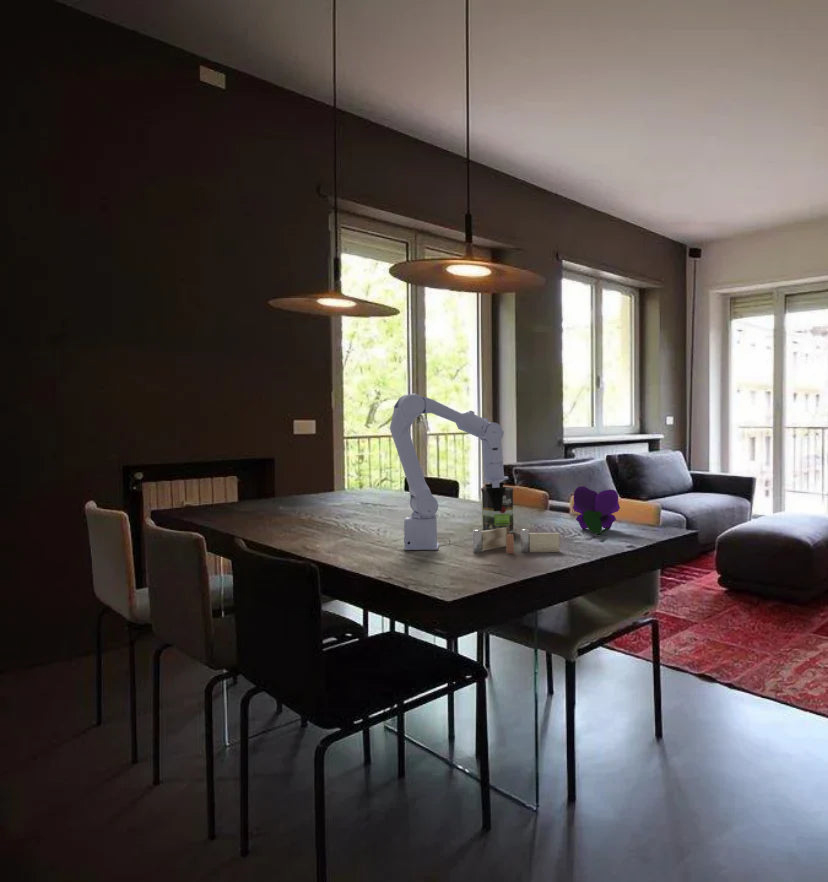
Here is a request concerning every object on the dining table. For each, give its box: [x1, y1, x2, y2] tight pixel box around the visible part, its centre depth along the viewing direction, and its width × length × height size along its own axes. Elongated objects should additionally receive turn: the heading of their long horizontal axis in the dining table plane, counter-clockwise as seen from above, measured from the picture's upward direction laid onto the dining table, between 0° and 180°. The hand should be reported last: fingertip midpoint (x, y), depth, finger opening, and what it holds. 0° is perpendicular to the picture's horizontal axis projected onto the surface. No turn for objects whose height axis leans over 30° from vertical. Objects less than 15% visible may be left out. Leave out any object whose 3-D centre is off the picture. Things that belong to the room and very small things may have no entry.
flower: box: [572, 485, 621, 536], centre depth 199 cm, size 15×15×14 cm
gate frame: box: [472, 528, 560, 554], centre depth 175 cm, size 23×3×6 cm, turn 85°
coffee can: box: [480, 486, 514, 534], centre depth 205 cm, size 10×10×14 cm
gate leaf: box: [481, 527, 511, 551], centre depth 180 cm, size 10×2×5 cm, turn 125°
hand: (497, 508), depth 188 cm, fingers open, 7 cm apart
